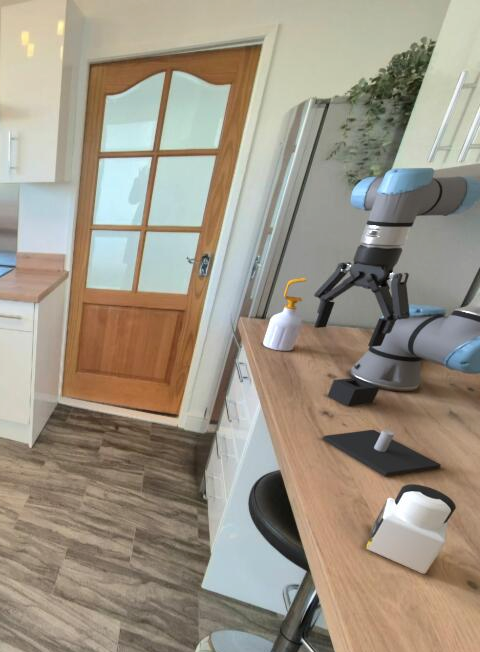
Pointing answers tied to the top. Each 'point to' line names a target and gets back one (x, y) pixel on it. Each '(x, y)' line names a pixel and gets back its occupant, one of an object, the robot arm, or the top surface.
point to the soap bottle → (284, 324)
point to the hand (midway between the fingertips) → (345, 335)
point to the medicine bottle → (412, 527)
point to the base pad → (381, 452)
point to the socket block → (353, 391)
